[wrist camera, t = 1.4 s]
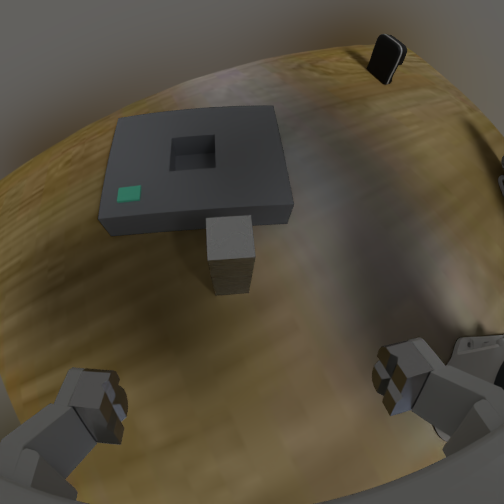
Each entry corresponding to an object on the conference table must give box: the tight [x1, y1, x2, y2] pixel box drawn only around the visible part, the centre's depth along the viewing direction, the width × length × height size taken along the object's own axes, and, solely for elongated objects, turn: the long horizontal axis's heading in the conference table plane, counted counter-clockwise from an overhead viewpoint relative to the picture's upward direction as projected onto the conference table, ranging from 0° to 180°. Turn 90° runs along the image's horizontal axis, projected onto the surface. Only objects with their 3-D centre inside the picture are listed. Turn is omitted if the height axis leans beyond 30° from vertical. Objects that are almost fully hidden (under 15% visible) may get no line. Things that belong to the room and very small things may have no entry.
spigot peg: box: [206, 215, 255, 295], centre depth 32 cm, size 4×4×12 cm
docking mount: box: [98, 106, 294, 236], centre depth 40 cm, size 24×18×5 cm
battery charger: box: [367, 34, 407, 84], centre depth 52 cm, size 7×4×11 cm, turn 28°
